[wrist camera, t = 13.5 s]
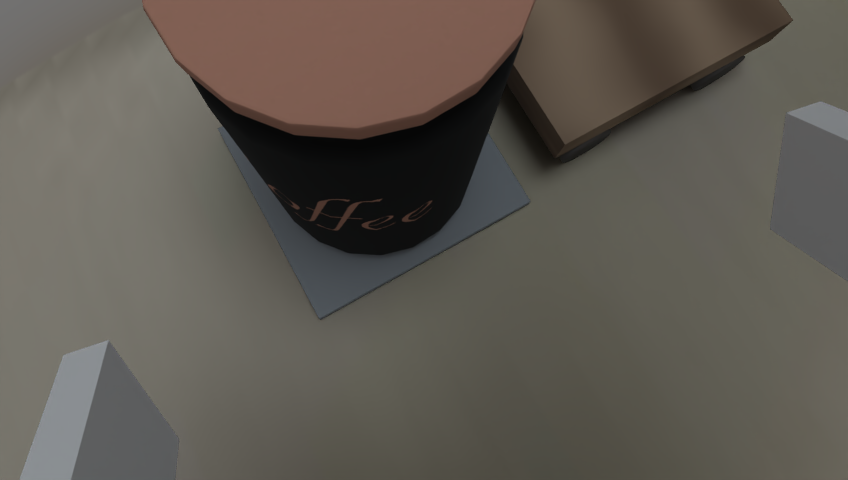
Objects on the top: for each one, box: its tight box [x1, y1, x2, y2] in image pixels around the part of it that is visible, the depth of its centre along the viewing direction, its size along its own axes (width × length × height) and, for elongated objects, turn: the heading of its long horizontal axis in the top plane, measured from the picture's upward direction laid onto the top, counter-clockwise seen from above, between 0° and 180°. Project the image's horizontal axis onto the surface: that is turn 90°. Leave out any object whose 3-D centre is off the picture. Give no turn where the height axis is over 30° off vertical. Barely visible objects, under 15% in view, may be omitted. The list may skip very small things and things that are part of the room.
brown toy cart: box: [507, 0, 793, 163], centre depth 33 cm, size 14×10×5 cm
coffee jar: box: [142, 0, 536, 255], centre depth 24 cm, size 11×11×18 cm
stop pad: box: [218, 126, 530, 320], centre depth 33 cm, size 13×12×1 cm
